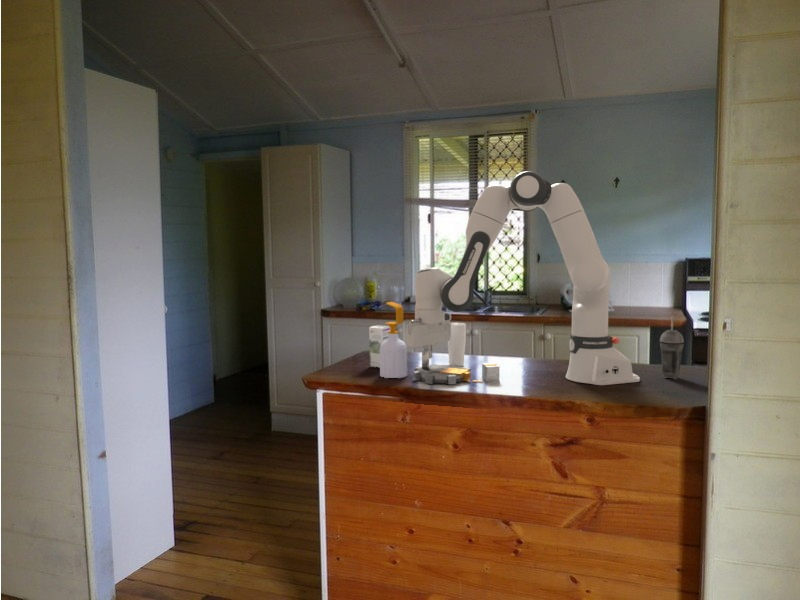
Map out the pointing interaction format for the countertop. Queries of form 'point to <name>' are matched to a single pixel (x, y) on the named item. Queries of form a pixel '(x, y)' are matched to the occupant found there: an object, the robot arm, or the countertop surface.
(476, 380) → the timing mark
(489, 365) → the marked link
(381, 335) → the syrup box
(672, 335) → the beverage cup
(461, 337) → the drinking glass
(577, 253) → the robot arm
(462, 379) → the sprocket
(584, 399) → the countertop surface
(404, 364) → the soap bottle
